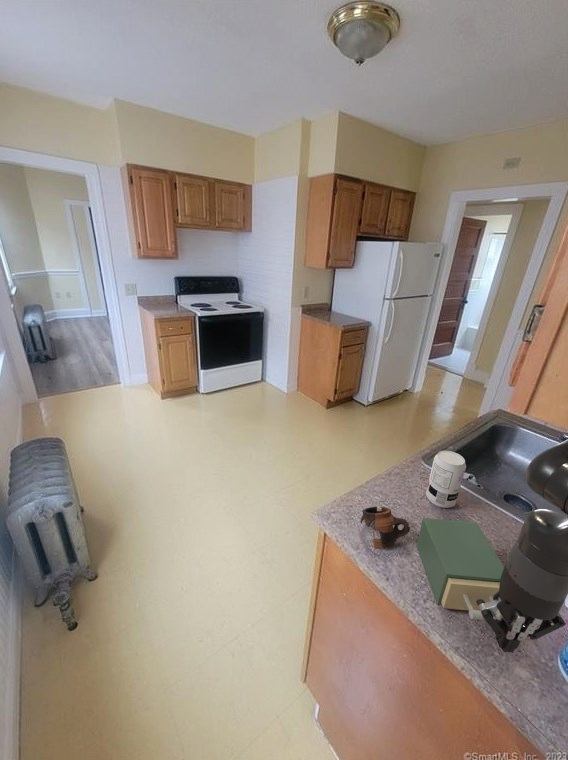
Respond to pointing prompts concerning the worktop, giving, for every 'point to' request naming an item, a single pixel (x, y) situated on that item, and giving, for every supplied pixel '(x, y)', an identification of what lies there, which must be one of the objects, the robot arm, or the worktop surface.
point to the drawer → (469, 595)
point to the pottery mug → (385, 526)
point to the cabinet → (456, 553)
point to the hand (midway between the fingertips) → (504, 646)
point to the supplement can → (445, 479)
